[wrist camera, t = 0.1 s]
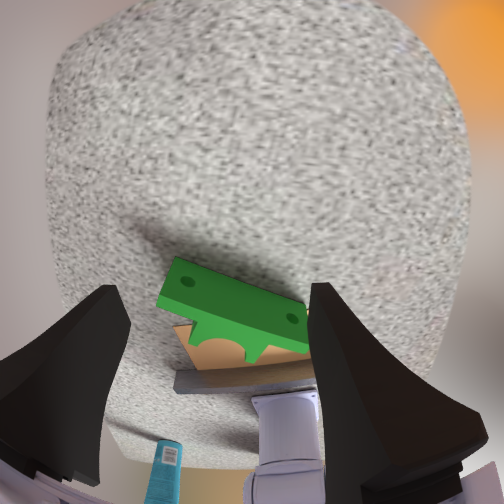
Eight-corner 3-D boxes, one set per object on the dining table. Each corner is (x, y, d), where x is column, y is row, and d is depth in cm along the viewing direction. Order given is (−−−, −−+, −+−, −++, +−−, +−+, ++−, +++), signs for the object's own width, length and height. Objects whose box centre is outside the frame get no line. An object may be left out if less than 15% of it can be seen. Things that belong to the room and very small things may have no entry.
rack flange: (342, 368, 28) (346, 387, 26) (187, 385, 30) (184, 402, 28) (345, 303, 23) (352, 324, 21) (150, 328, 25) (142, 347, 23)
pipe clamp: (164, 290, 23) (148, 329, 19) (175, 255, 21) (158, 293, 17) (284, 332, 25) (287, 373, 21) (306, 304, 23) (313, 346, 19)
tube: (158, 445, 45) (145, 524, 29) (149, 437, 43) (133, 521, 26) (192, 448, 45) (182, 532, 28) (184, 441, 42) (172, 531, 26)
